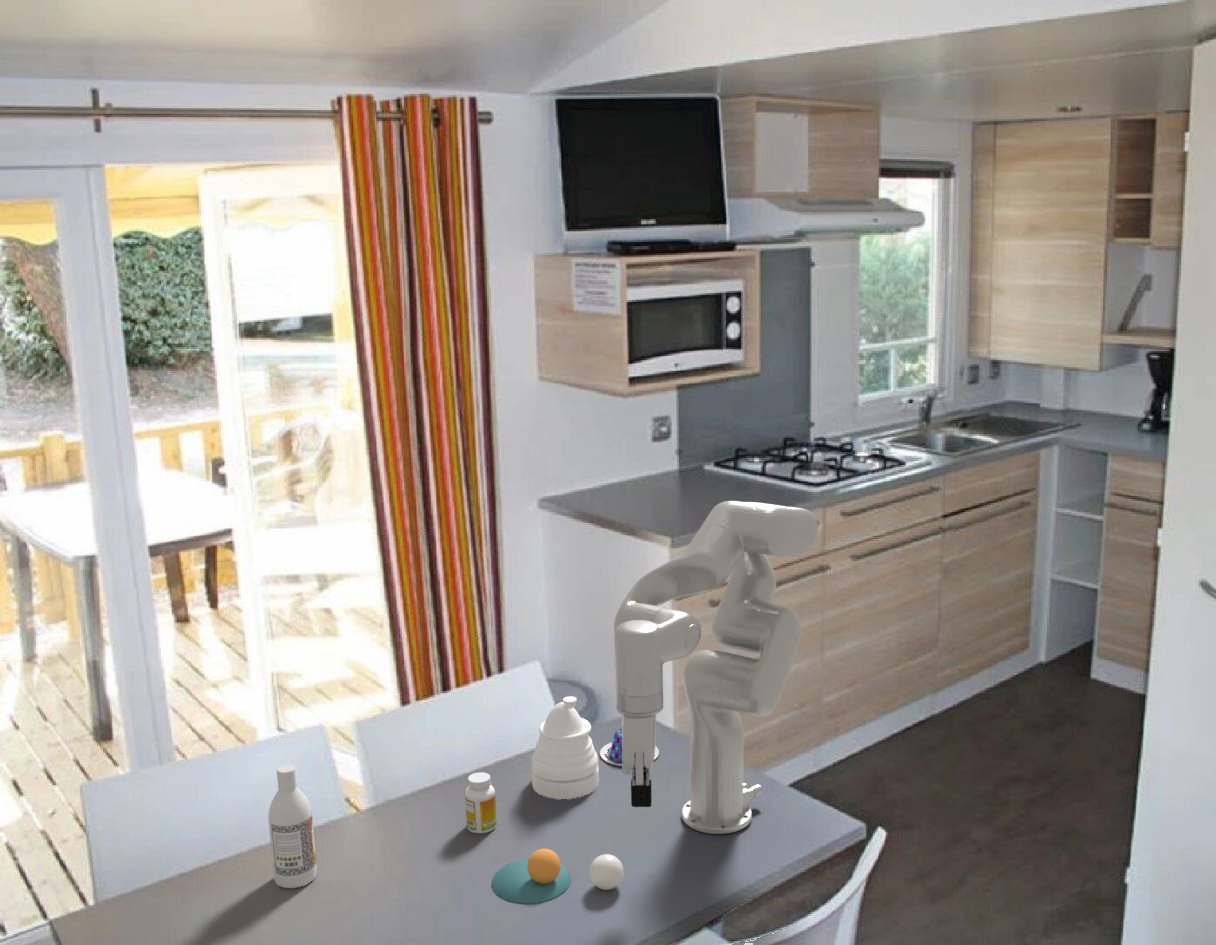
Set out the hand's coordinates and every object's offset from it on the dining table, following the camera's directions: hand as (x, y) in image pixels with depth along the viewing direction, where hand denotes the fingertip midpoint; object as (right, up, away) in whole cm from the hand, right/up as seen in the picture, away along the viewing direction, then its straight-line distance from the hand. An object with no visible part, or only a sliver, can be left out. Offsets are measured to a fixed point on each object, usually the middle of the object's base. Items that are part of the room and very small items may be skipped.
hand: (641, 804), depth 191 cm
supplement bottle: (-28, -10, +22) cm, 37 cm away
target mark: (-18, -14, +4) cm, 23 cm away
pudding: (-1, -4, +49) cm, 49 cm away
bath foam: (-58, -15, +7) cm, 60 cm away
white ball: (-6, -11, +2) cm, 13 cm away
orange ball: (-16, -11, +4) cm, 20 cm away
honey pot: (-14, -7, +37) cm, 40 cm away
